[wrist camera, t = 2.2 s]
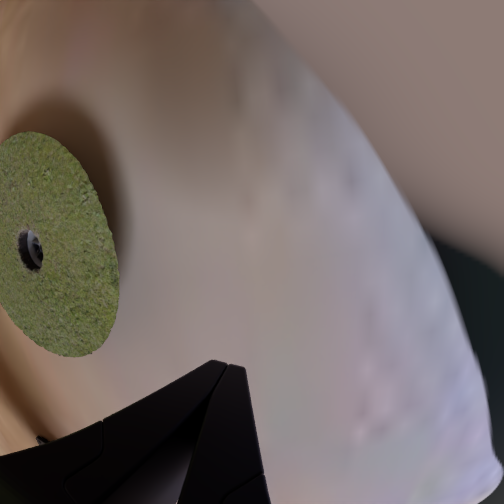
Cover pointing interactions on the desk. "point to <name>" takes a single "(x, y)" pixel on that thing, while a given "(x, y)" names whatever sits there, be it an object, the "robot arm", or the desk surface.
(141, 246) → the desk surface
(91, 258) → the green speckled disc
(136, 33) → the desk surface
